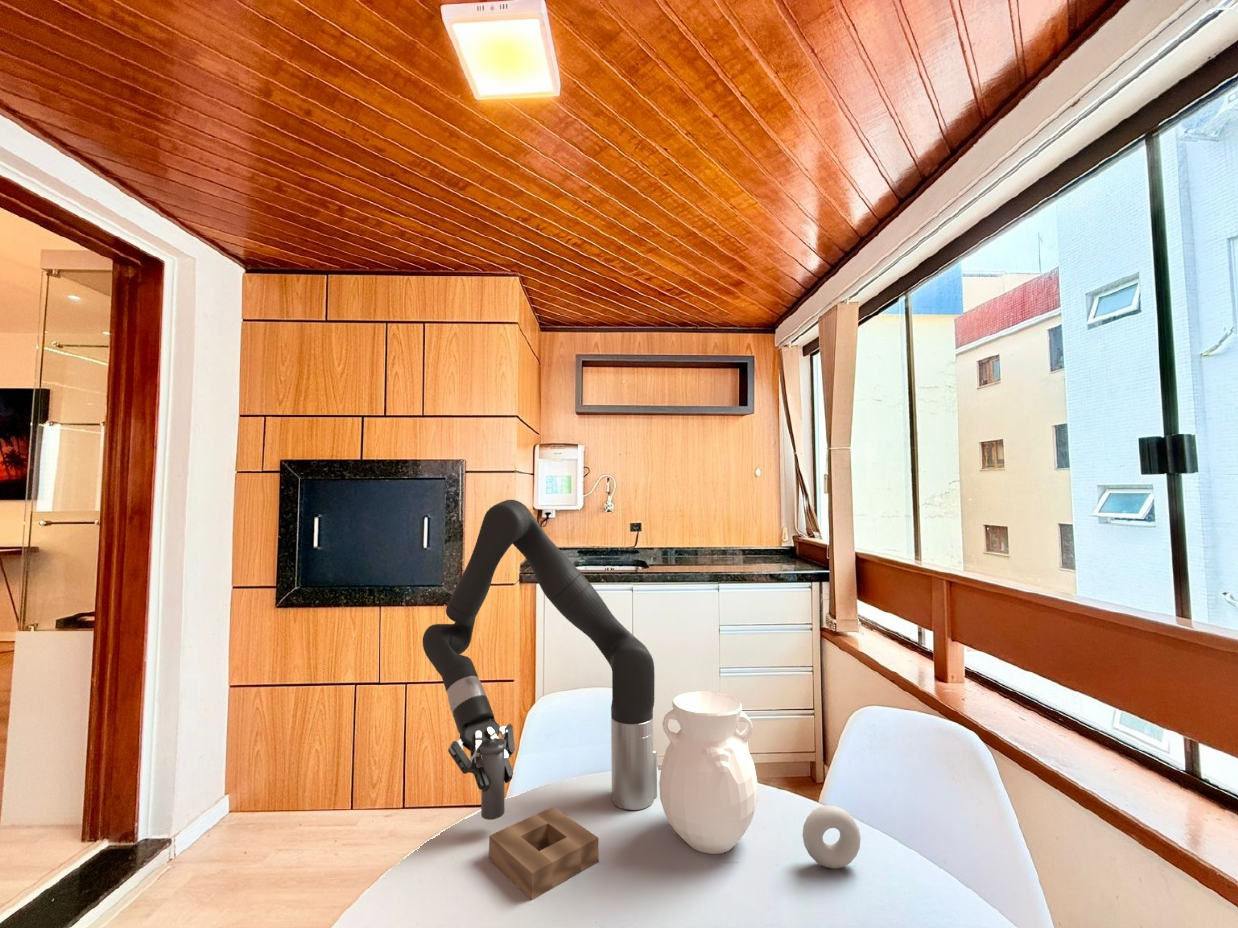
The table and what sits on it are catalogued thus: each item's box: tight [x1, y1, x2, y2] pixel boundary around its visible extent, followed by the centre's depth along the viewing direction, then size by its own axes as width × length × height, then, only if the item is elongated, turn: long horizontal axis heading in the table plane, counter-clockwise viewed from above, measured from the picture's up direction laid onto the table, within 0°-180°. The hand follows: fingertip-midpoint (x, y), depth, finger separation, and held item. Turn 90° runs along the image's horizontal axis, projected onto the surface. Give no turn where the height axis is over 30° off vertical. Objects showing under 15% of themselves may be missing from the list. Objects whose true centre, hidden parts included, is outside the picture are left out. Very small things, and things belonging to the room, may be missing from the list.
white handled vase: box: [658, 690, 759, 855], centre depth 102 cm, size 19×18×25 cm
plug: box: [480, 737, 506, 821], centre depth 104 cm, size 5×5×13 cm
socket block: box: [488, 806, 600, 901], centre depth 95 cm, size 14×14×4 cm
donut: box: [802, 804, 862, 870], centre depth 93 cm, size 10×4×10 cm, turn 90°
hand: (498, 784), depth 102 cm, fingers closed on plug, 4 cm apart
